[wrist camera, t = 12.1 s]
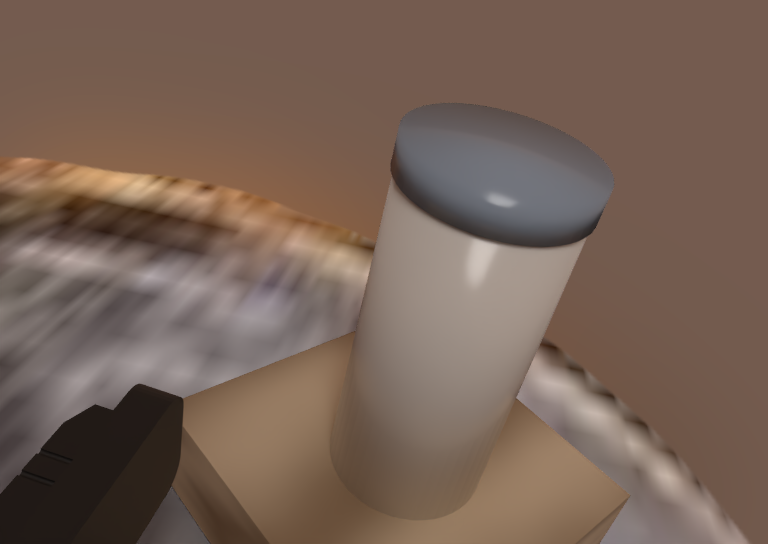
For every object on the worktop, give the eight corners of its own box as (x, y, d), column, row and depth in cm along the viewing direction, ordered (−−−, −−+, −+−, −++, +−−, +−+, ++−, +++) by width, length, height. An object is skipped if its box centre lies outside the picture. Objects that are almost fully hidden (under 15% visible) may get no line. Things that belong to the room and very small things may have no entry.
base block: (164, 474, 24) (167, 404, 22) (394, 369, 31) (411, 309, 29) (361, 767, 18) (389, 706, 16) (591, 556, 25) (630, 495, 23)
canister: (294, 431, 22) (354, 115, 16) (409, 375, 26) (496, 94, 19) (399, 554, 20) (520, 228, 13) (514, 474, 23) (654, 182, 17)
